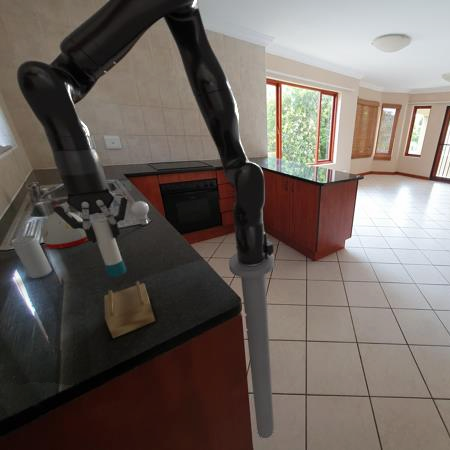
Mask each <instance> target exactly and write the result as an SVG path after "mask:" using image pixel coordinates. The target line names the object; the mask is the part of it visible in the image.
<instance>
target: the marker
mask: <svg viewBox="0 0 450 450" xmlns="http://www.w3.org/2000/svg"><path fill="white" fill-rule="evenodd" d="M90 226H91V227H92V229H93V232H94V235H95V238H96V240H97V242H96V243H97V246H98V249H99V251H100V254H101V257H102V259H103V260H102V261H103V262H104V264H103V265H104V268H105V271H106V273H107V276H108V277H109V278H117V277H120V276H123V275H124V274H125V273H127V268H126V264H125V262H124V259H123V258H122V256H121V252H120V249H119V246H118V243H117V240H116V238H114V236H113V233H112V230H111V227H110V222H109V220H108V219H107V218H98V219H96V220H94V219H93V220H92V221H90Z"/></svg>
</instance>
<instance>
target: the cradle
mask: <svg viewBox="0 0 450 450" xmlns="http://www.w3.org/2000/svg"><path fill="white" fill-rule="evenodd" d="M103 298H104V299H103V300H104V320H105V323H106V325H107V327H108V331H109V332H110V335H111V337H112V339H115V338H117V337H120V336H123V335H125V334H127V333H130V332H132V331H135V330H137V329H139V328H142V327H144V326H147V325H150V324H152V323H153V322H156V318H155V315H154V311H153V308H152V304H151V301H150V297H149V294H148V291H147V288H146V284H145V283H143V282H142V283H140V282H139V281H138V280H137V281H135V285H134V286H131V287H130V286H129V287H128V288H124V289H121V290H118V291H115V292H113V290H112V289H109V290H108V294H106V295H103Z"/></svg>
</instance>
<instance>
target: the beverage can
mask: <svg viewBox="0 0 450 450" xmlns="http://www.w3.org/2000/svg"><path fill="white" fill-rule="evenodd" d="M11 246H12V247H13V250H14V251H15V253H16V254H17V257H18V258H19V260H20V261H21V263H22V265H23V267H24V269H25V271H26V273H27V275H28V276H29V277H30V278H31V279H40V278H43V277H46V276H47V275H49V274H51V272H52V270H53V269H52V267H51V264H50V263H49V261H48V258H47V257H46V255H45V254H46V253H45V252H44V251H43V248H42V245H41V244H40V242H39V240H38V238H37V237H36V236H35V235H24V236H19V237H17V238H14V239H13V240H11Z"/></svg>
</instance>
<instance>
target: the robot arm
mask: <svg viewBox="0 0 450 450" xmlns="http://www.w3.org/2000/svg"><path fill="white" fill-rule="evenodd" d="M162 18H163V20H164V21H165V23H166V26H167V27H168V30H169V31H170V34H171V36H172V38H173V40H174V42H175V45H176V47H177V50H178V53H179V55H180V59H181V62H182V65H183V68H184V72H185V75H186V78H187V81H188V84H189V86H190V90H191V93H192V95H193V98H194V100H195V102H196V104H197V107H198V109H199V113H200V114H201V116H202V119H203V121H204V123H205V125H206V128H207V130H208V132H209V135H210V136H211V139H212V141H213V142H214V145H215V147H216V150H217V153H218V155H219V158H220V162H221V165H222V170H223V173H224V176H225V179H226V181H227V183H228V184H229V185H230V187H232V188H233V189H234V196H235V197H234V198H235V203H233V204H232V216H233V225H234V236H235V243H236V244H235V245H236V246H235V249H236V253H237V254H238V263H239V264H240V265H242V266H246V267H253V266H258V265H260V264H262V263H263V262H264V261H265V260H266V259H268V255H270V256H271V254H273V253H274V243H272V242H271V241H269V240H268V235H267V233H266V232H265V225H264V206H265V201H266V186H265V182H266V181H265V175H264V171H263V169H262V167H260V166H259V165H258V164H257V163H255V162H252V161H249V158H248V157H247V153H246V152H245V150H244V147H243V144H242V141H241V137H240V136H241V135H240V124H239V123H240V122H239V112H238V107H237V102H236V99H235V97H234V94H233V91H232V88H231V85H230V82H229V79H228V77H227V75H226V73H225V71H224V68H223V67H222V65H221V62H220V61H219V59H218V57H217V56H216V54H215V52H214V50H213V48H212V46H211V43H210V41H209V39H208V36H207V33H206V29H205V25H204V22H203V19H202V15H201V11H200V7H199V2H198V0H108V1H107V2H106V3H104V5H102V6H101V7H100V8H99V9H98V10H97V11H96V12H94V13H93V14H92V15H91V16H90V17H88V18H87V19H86V20H85V21H83V22H82V23H81V24H80V25H79V26H77V27H76V28H75V29H74V30H72V31H71V32H70V33H69V34H68V35H67V36H65V37H64V38H63V39H62V41H60V43H59V50H60V53H59V54H58V56H57V57H55V59H54V60H53V61H52V62H50V63H46V62H43V61H39V60H27V61H24V62H22V63H21V64H20V65H19V66H18V67H17V71H16V80H17V84H18V88H19V90H20V92H21V95H22V96H23V98H24V100H25V102H26V103H27V105H28V107H29V108H30V110H31V112H32V113H33V115H34V117H36V119H37V120H38V122H39V123H40V125H41V127H42V129H43V130H44V133H45V137H46V139H47V142H48V144H49V147H50V149H51V152H52V156H53V161H54V164H55V166H56V169H57V172H58V175H59V177H60V180H61V182H62V184H63V187H64V190H65V192H66V195H67V199H66V201H65V202H63V203H58V204H57V205H55V207H54V206H53V211H54V212H56V213H57V214H58V215H59V216H60V217H61V218H62V219H63V220H65V221H66V222H67V223H68V224H69V225H70V226H71V227H72V228H73V229H77V228H81V229H84V231H85V233H86V236H87V238H88V240H87V241H88V242H92V243H93V244H95V243H97V240H96V238H95V235H94V232H93V229H92V227H91V224H90V222H91V216H92V215H95V214H103V215H104V216H105V218H106V219H108V220H109V222H110V227H111V230H112V233H113V236H114V238H115V239H118V236H120V234H121V233H120V228H119V226H118V223H119V222H121V221H125V217H126V211H127V205H128V197H127V196H126V195H116V194H114V193H113V192H112V191H111V190H110V187H109V183H108V181H107V177H106V173H105V169H104V167H103V163H102V161H101V158H100V156H99V153H98V152H97V149H96V147H95V142H94V140H93V138H92V134H91V130H90V128H89V126H88V125H87V124H86V123H85V122H84V121H83V120H82V119H81V118H80V117H79V114H78V112H77V109H76V107H75V106H76V104H78V103H80V102H81V101H82V100H84V99H85V97H86V96H87V95H88V94H89V93H90V92H91V90H92V89H93V88H94V87H95V85H96V84H97V82H98V81H99V80H100V79H101V78H102V77H103V76H104V75H106V74H107V73H108V72H110V71H111V70H112V69H114V67H116V66H117V65H118V64H119V63H120V62H121V61H123V60H124V59H125V57H126V56H127V55H128V54H129V53H130V52H131V51H132V49H134V47H135V46H136V45H137V43H138V42H139V40H140V39H141V38H142V37H143V36H144V35H145V33H146V32H147V31H148V30H149V29H150V28H152V26H153V25H155V24H156V23H158V22H159V21H160V20H162ZM114 201H116V204H117V205H118V212H117V214H116V215H114V213H113V211H112V210H111V209H110V208H111V205H112V203H113V202H114ZM70 207H71V208H73V209H74V210H76V211H78V212H80V213H81V216H82V217H81V218H82V220H83V222H79V221H78V220H76V219H75V218H74V217H73V216H72V215H71V214H70V213H69V212H71V208H70Z"/></svg>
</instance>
